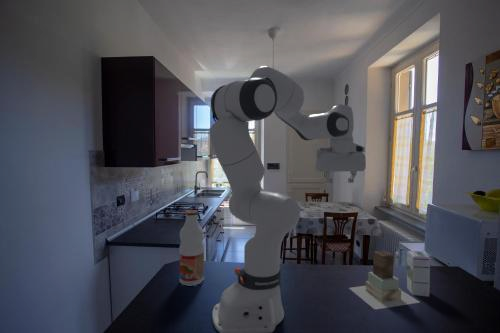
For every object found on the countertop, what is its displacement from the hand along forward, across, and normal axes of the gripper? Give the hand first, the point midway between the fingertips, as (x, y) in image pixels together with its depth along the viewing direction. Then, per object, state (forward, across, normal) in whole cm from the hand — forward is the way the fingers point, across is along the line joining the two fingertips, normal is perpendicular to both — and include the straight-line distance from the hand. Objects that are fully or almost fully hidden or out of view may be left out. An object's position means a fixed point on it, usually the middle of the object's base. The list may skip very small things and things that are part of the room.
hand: (340, 183), depth 103 cm
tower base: (+39, +9, -14) cm, 42 cm away
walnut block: (+32, +9, -14) cm, 36 cm away
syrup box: (+39, +23, -15) cm, 48 cm away
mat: (+39, +9, -14) cm, 42 cm away
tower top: (+35, +9, -14) cm, 39 cm away
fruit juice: (+39, -57, +12) cm, 70 cm away
